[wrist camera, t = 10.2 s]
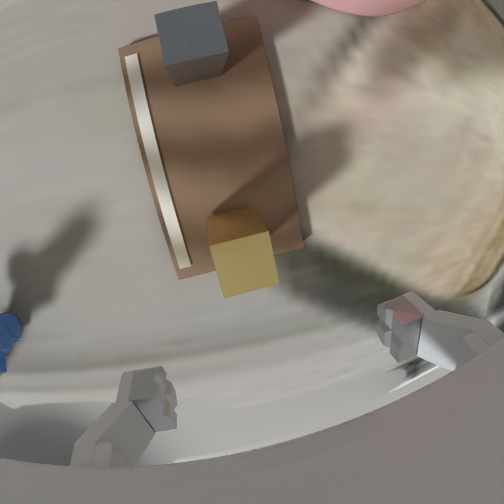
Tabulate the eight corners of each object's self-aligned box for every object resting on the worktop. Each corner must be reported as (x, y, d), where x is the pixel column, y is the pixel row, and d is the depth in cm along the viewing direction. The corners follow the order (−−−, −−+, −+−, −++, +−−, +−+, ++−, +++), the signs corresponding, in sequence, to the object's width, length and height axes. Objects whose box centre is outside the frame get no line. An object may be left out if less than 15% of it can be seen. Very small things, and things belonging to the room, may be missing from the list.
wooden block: (207, 216, 24) (209, 246, 18) (250, 205, 24) (268, 231, 18) (218, 257, 25) (224, 298, 19) (259, 246, 25) (279, 283, 19)
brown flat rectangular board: (121, 51, 19) (117, 48, 18) (254, 21, 20) (256, 16, 19) (179, 274, 27) (178, 280, 26) (300, 243, 27) (304, 248, 26)
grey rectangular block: (167, 47, 19) (154, 14, 12) (211, 37, 19) (216, 1, 13) (175, 86, 20) (164, 66, 14) (221, 76, 20) (228, 51, 14)
